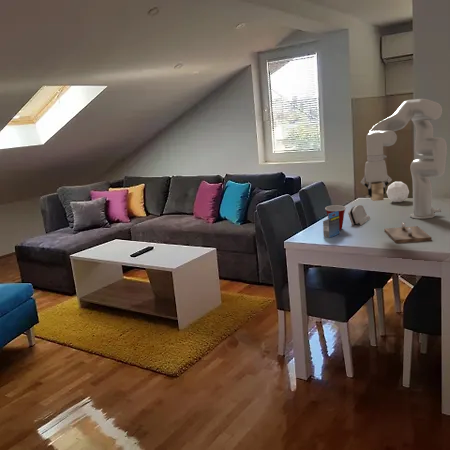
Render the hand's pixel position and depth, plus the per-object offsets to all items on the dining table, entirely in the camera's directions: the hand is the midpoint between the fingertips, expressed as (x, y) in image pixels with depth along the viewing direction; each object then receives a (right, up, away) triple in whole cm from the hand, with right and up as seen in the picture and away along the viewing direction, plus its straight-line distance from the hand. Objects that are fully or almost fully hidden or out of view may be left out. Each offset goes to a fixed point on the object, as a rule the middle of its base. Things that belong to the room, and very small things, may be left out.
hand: (376, 195), depth 240 cm
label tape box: (-20, -20, +10) cm, 30 cm away
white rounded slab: (0, -13, +33) cm, 35 cm away
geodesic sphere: (+36, 0, +73) cm, 82 cm away
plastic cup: (-15, -17, +21) cm, 31 cm away
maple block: (0, -2, 0) cm, 2 cm away
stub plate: (+13, -19, -5) cm, 24 cm away
